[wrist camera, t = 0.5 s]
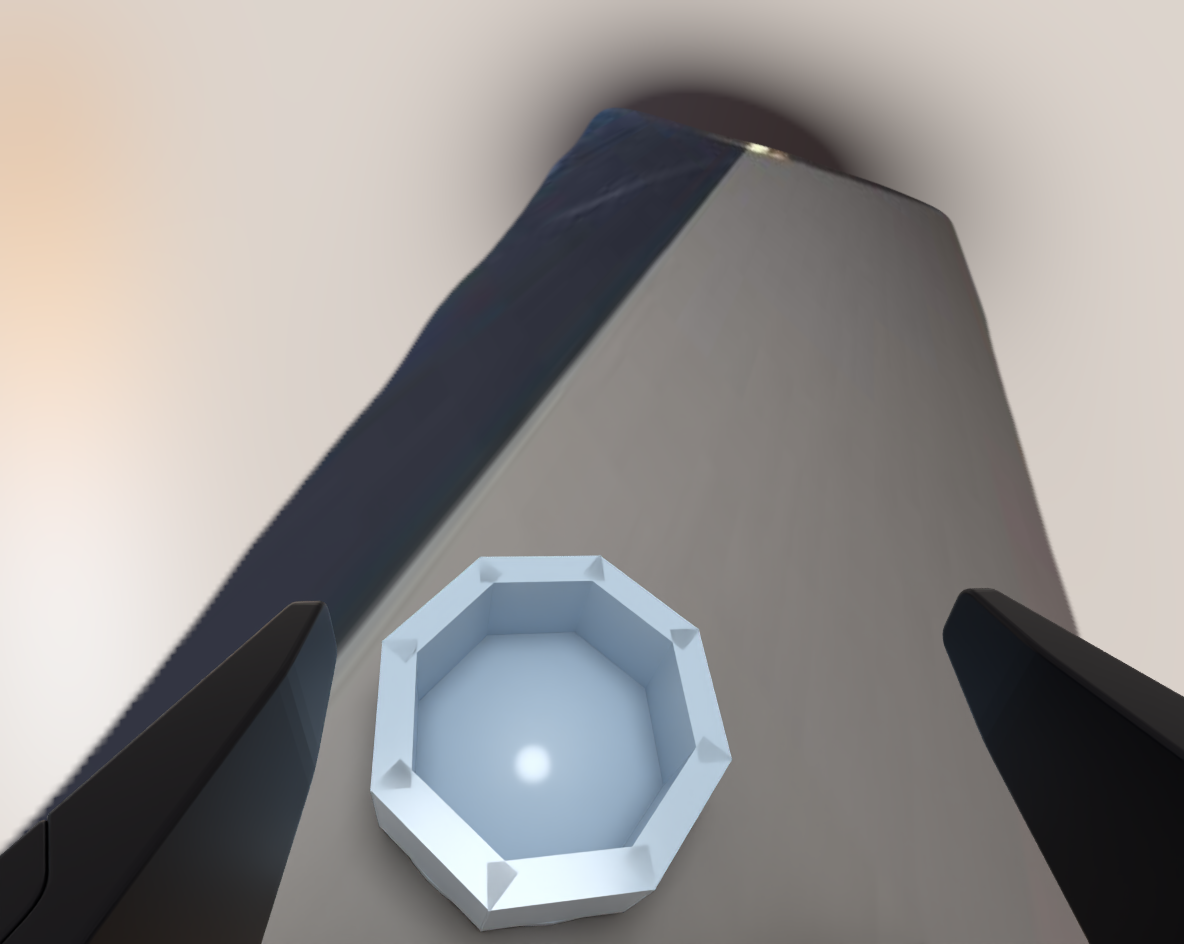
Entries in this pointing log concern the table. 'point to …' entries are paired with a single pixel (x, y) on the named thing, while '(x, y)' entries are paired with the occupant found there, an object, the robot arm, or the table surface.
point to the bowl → (544, 739)
